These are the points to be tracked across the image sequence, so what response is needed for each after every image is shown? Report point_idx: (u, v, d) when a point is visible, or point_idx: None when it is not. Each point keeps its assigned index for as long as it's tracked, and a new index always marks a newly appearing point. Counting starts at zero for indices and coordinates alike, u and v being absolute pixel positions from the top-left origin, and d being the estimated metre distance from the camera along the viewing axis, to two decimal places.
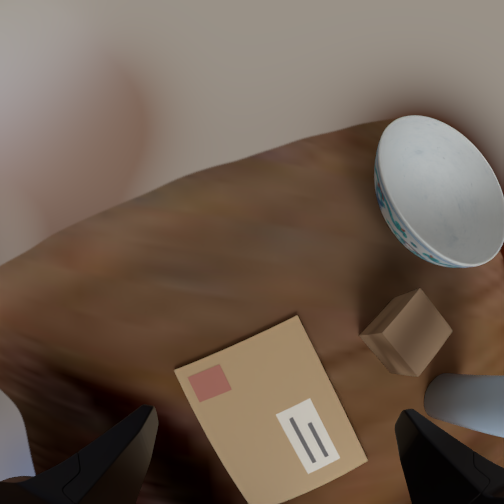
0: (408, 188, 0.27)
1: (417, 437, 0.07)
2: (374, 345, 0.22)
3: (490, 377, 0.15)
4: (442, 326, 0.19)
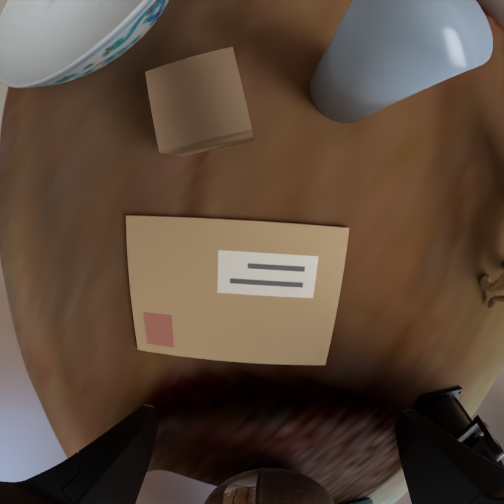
0: (80, 24, 0.15)
1: (417, 437, 0.07)
2: (195, 150, 0.17)
3: (336, 30, 0.10)
4: (213, 59, 0.13)
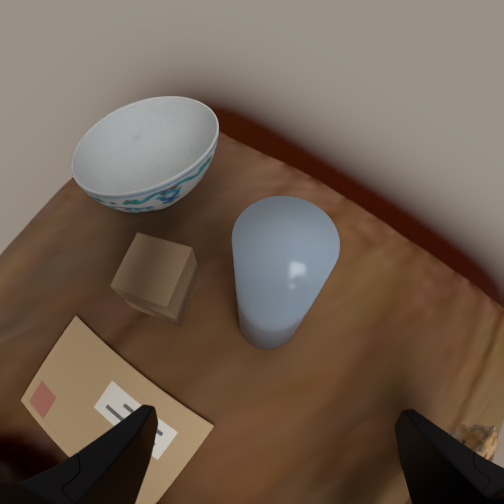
0: (139, 170, 0.31)
1: (417, 437, 0.07)
2: (138, 306, 0.23)
3: None
4: (176, 250, 0.22)
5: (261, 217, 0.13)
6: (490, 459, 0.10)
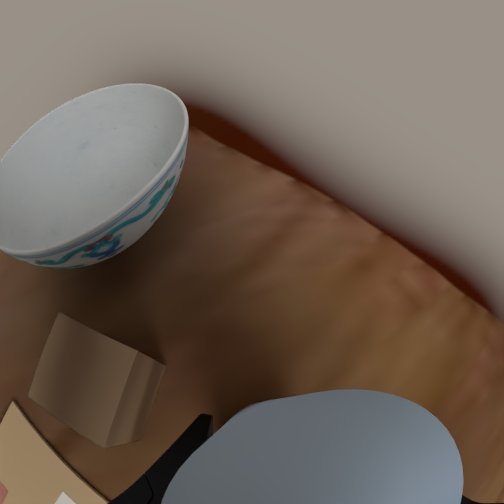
0: (86, 193, 0.20)
1: None
2: None
3: (234, 416, 0.08)
4: (112, 352, 0.11)
5: (252, 484, 0.03)
6: None
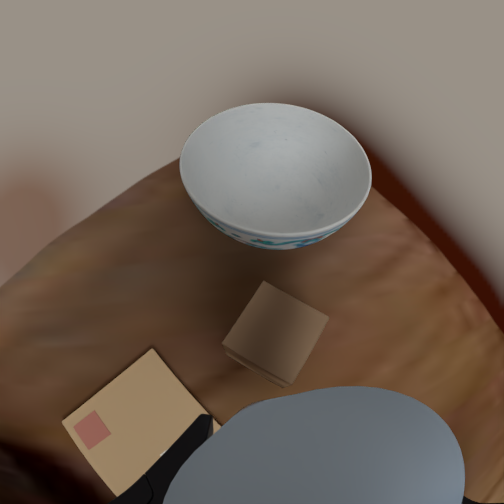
0: (253, 185, 0.28)
1: None
2: (240, 361, 0.20)
3: (235, 414, 0.08)
4: (310, 316, 0.18)
5: (255, 481, 0.03)
6: None
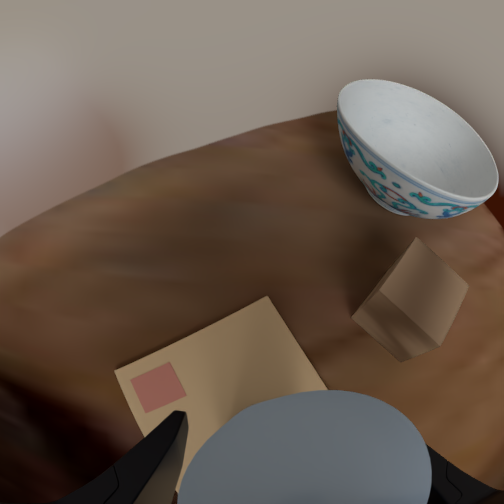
0: None
1: None
2: (372, 323, 0.17)
3: None
4: (455, 280, 0.15)
5: (254, 464, 0.04)
6: None
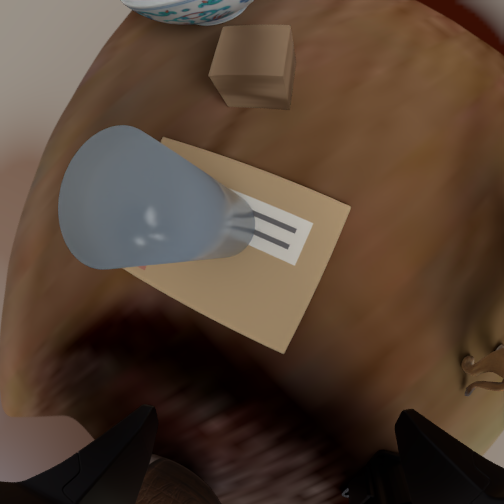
0: None
1: (417, 437, 0.07)
2: (238, 98, 0.20)
3: None
4: (273, 29, 0.16)
5: (73, 193, 0.09)
6: None
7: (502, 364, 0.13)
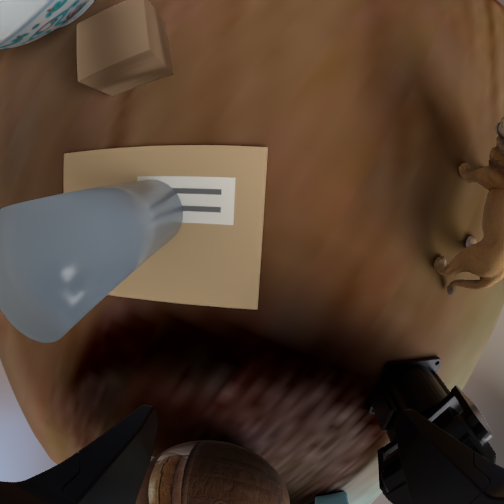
0: None
1: (417, 437, 0.07)
2: (118, 85, 0.16)
3: None
4: (127, 5, 0.12)
5: None
6: None
7: (474, 263, 0.15)
